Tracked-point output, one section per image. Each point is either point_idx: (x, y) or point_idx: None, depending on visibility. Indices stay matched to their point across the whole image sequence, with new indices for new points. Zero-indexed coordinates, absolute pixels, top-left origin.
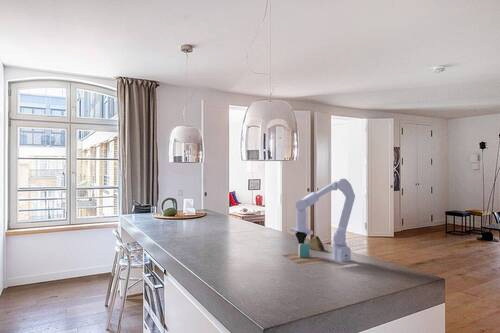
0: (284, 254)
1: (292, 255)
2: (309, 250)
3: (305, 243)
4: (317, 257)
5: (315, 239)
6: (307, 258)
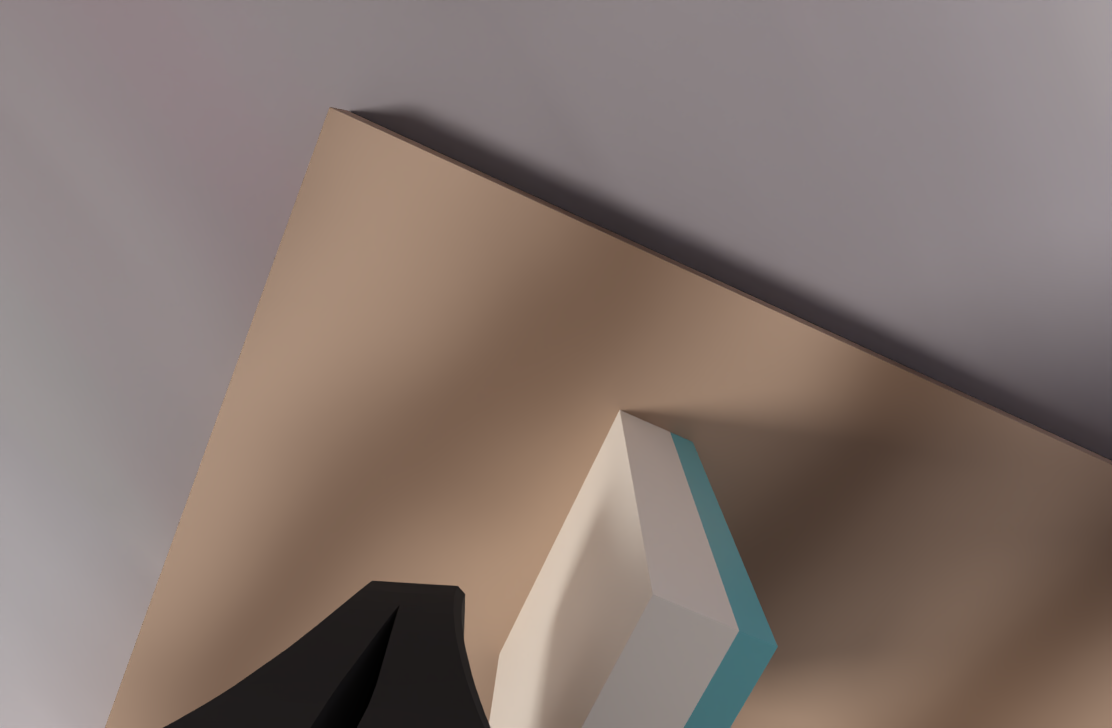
0: (117, 708)
1: None
2: (720, 509)
3: (610, 725)
4: (916, 378)
5: None
6: None
